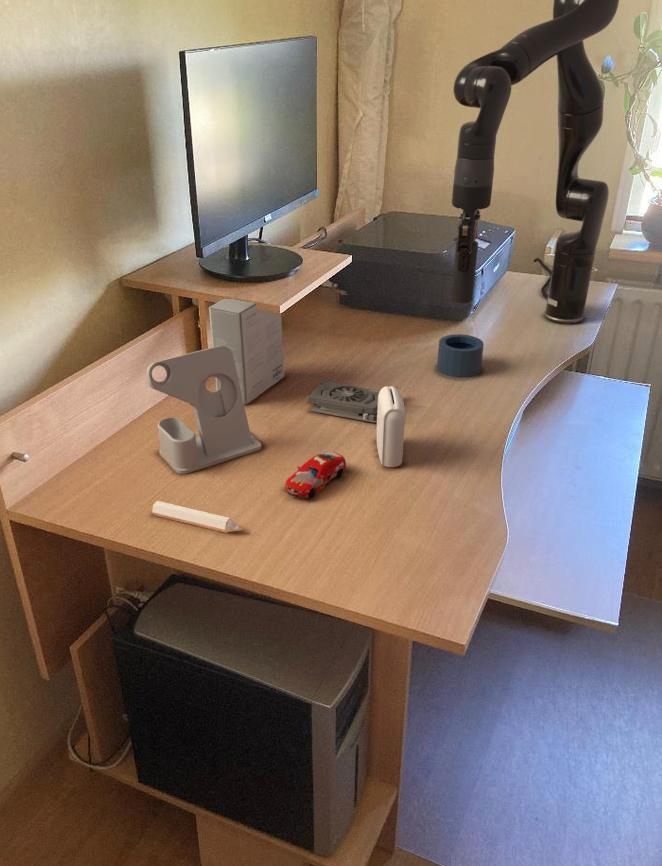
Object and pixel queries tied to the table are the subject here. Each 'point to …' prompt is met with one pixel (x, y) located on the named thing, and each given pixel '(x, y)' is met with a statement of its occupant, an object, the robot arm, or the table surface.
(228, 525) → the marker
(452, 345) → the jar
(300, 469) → the race car
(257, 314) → the hard drive box
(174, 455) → the phone holder
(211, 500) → the table surface
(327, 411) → the graphics card
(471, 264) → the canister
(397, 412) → the photo printer
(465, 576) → the table surface
